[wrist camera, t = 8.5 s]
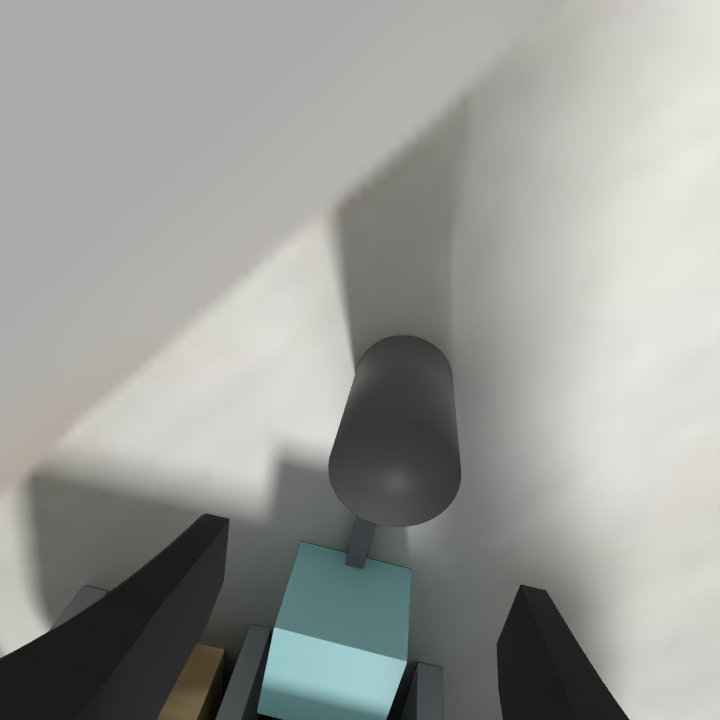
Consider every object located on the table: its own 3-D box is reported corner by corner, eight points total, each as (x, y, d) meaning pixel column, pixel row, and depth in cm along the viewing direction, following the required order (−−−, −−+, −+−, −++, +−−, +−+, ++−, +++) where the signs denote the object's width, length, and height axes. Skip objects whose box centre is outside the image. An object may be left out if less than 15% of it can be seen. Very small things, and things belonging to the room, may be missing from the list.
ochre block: (225, 647, 27) (189, 739, 23) (220, 710, 29) (185, 805, 25) (130, 626, 27) (78, 714, 23) (132, 690, 29) (83, 781, 25)
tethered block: (483, 353, 19) (504, 440, 14) (385, 645, 25) (373, 786, 20) (348, 320, 19) (316, 394, 14) (284, 619, 26) (244, 751, 20)
